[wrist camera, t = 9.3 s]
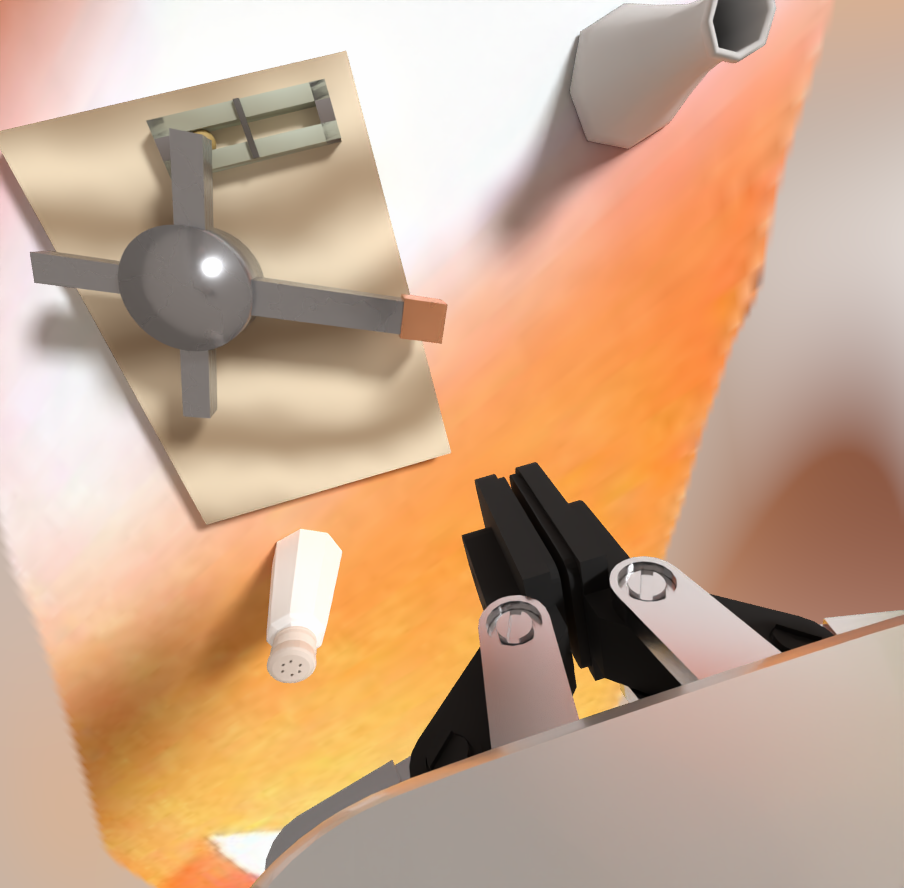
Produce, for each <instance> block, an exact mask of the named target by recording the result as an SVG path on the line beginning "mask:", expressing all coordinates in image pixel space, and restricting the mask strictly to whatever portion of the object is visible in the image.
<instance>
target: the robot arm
mask: <svg viewBox="0 0 904 888" xmlns="http://www.w3.org/2000/svg"><path fill="white" fill-rule="evenodd" d="M515 472H516V474H512V475H510V483H511V487H510V486H509V484H508V482H507V481H506V479H505V478H504V477H502V478H499V479H498V478H497V476H496V475H495V474H493V475H489V476H486V477H482V478H479V479H476V480H475V485H476V490H477V494H478V498H479V503H480V507H481V511H482V516H483V520H484V524H485V528H484V529H481V530H478V531H474V532H471V533H468V534H464V535H462V539H463V543H464V547H465V551H466V555H467V559H468V562H469V566H470V570H471V573H472V576H473V580H474V583H475V586H476V589H477V592H478V595H479V598H480V601H481V604H482V607H483V610H484V611H483V613H482V615H481V617H480V619H479V627H478V630H479V640H480V648H479V649H478V651H477V652H476V654H475V655H474V657H473V658H472V660H471V661H470V663H469V664H468V666H467V667H466V669H465V670H464V672H463V673H462V675H461V676H460V678H459V679H458V681H457V682H456V684H455V685H454V687H453V688H452V690H451V691H450V693H449V694H448V696H447V697H446V699H445V700H444V702H443V703H442V705H441V706H440V708H439V709H438V711H437V712H436V714H435V715H434V717H433V718H432V720H431V721H430V723H429V724H428V726H427V727H426V729H425V730H424V732H423V733H422V735H421V736H420V738H419V739H418V741H417V743H416V745H415V747H414V749H413V751H412V754H411V756H410V757H408V758H406V759H405V760H403V761H401V762H400V763H398V764H396V765H394V762H393V760H391V761H390V762H388V763H386V764H385V765H383V766H381V767H380V768H378V769H376V770H375V771H373V772H371V773H369V774H368V775H366V776H364V777H363V778H361V779H359V780H358V781H356V782H354V783H353V784H351V785H349V786H348V787H346V788H344V789H343V790H341V791H339V792H337V793H336V794H334V795H332V796H331V797H329V798H327V799H326V800H324V801H322V802H321V803H319V804H317V805H316V806H314V807H312V808H311V809H309V810H307V811H305V812H304V813H302V814H300V815H299V816H297V817H296V818H295V819H293V820H292V821H291V822H290V823H288V824H287V825H286V826H285V827H284V828H283V829H282V831H281V832H280V833H279V835H278V836H277V837H276V839H275V840H274V842H273V844H272V846H271V849H270V851H269V854H268V856H267V859H266V866H265V871H264V872H263V873H262V874H261V875H260V877H259V878H258V879H257V880H256V881H255V882H254V883H253V885H252V886H251V887H250V888H904V610H898V611H889V612H880V613H869V614H861V615H850V616H840V617H831V618H824V621H823V624H822V625H819V624H817V623H815V622H814V621H811V620H808V619H805V618H802V617H800V616H796V615H792V614H788V613H784V612H780V611H776V610H772V609H768V608H764V607H760V606H756V605H752V604H747V603H744V602H739V601H736V600H732V599H728V598H724V597H720V596H715V595H711V594H708V593H707V592H706V591H705V590H704V589H702V588H701V587H700V586H699V585H697V584H696V583H695V582H694V581H692V580H691V579H690V578H689V577H688V576H686V575H685V574H684V573H682V572H681V571H680V570H679V569H678V568H676V567H675V566H673V565H672V564H670V563H668V562H667V561H664V560H661V559H658V558H653V557H645V556H644V557H633V558H629V556H628V555H627V554H626V553H625V551H624V550H623V549H622V548H621V547H620V545H619V544H618V543H617V542H616V541H615V539H614V538H613V537H612V536H611V534H610V533H609V532H608V531H607V530H606V528H605V527H604V526H603V525H602V524H601V522H600V521H599V520H598V519H597V517H596V516H595V515H594V514H593V513H592V511H591V510H590V509H589V508H588V506H587V505H586V504H585V503H584V502H583V501H581V500H578V501H575V502H572V503H567V502H566V500H565V499H564V498H563V496H562V495H561V494H560V492H559V491H558V490H557V488H556V487H555V486H554V484H553V483H552V482H551V481H550V479H549V478H548V477H547V475H546V474H545V473H544V471H543V470H542V469H541V467H540V466H539V465H538V464H537V463H536V462H534V463H531V464H527V465H524V466H520V467H517V468H516V469H515ZM572 654H573V656H574V658H575V660H576V662H577V664H578V666H579V667H580V668H581V669H582V668H585V667H588V668H589V670H590V672H591V674H592V676H593V677H594V679H595V681H597V680H600V679H603V678H607V679H609V680H612V681H615V682H617V683H619V684H620V689H621V691H622V693H623V695H624V696H625V698H626V699H627V701H628V702H629V703H628V704H625V705H622V706H619V707H616V708H613V709H610V710H607V711H604V712H601V713H598V714H595V715H592V716H589V717H586V718H583V719H580V720H579V717H578V714H577V710H576V707H575V703H574V700H573V694H574V692H575V689H576V687H577V686H576V680H575V673H574V664H573V657H572Z"/></svg>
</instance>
